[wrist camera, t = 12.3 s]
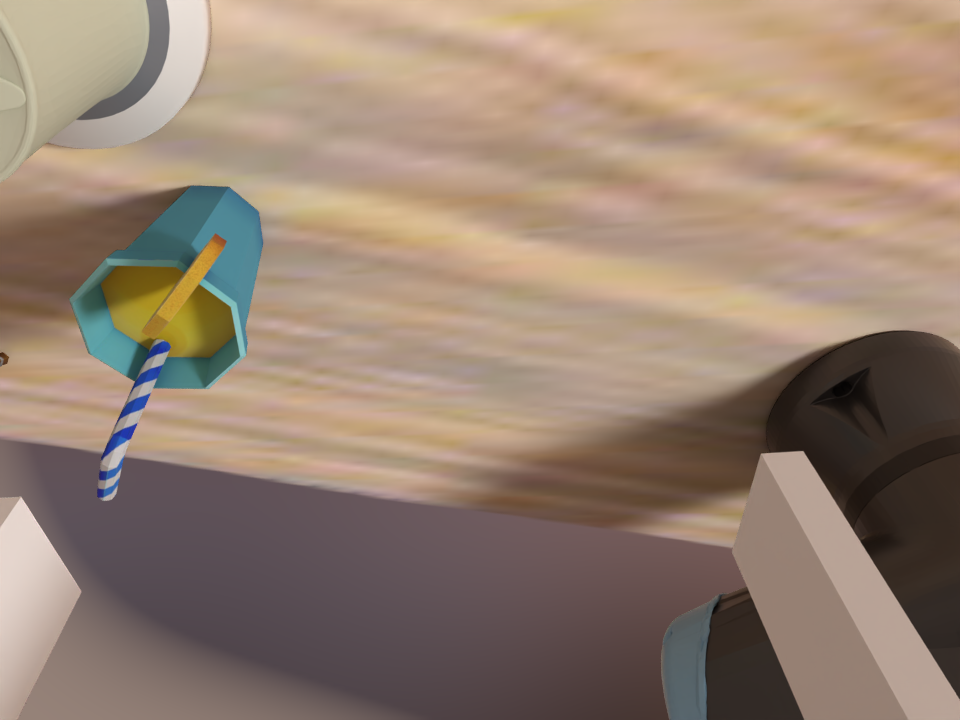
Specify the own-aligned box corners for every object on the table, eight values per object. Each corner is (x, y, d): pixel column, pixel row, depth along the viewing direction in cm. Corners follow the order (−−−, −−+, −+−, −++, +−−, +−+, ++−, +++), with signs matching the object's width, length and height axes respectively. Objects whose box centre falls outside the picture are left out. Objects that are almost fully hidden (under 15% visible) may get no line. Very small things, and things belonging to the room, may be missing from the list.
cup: (249, 347, 44) (184, 530, 32) (124, 307, 42) (5, 489, 30) (314, 161, 37) (262, 308, 25) (169, 99, 35) (34, 231, 23)
